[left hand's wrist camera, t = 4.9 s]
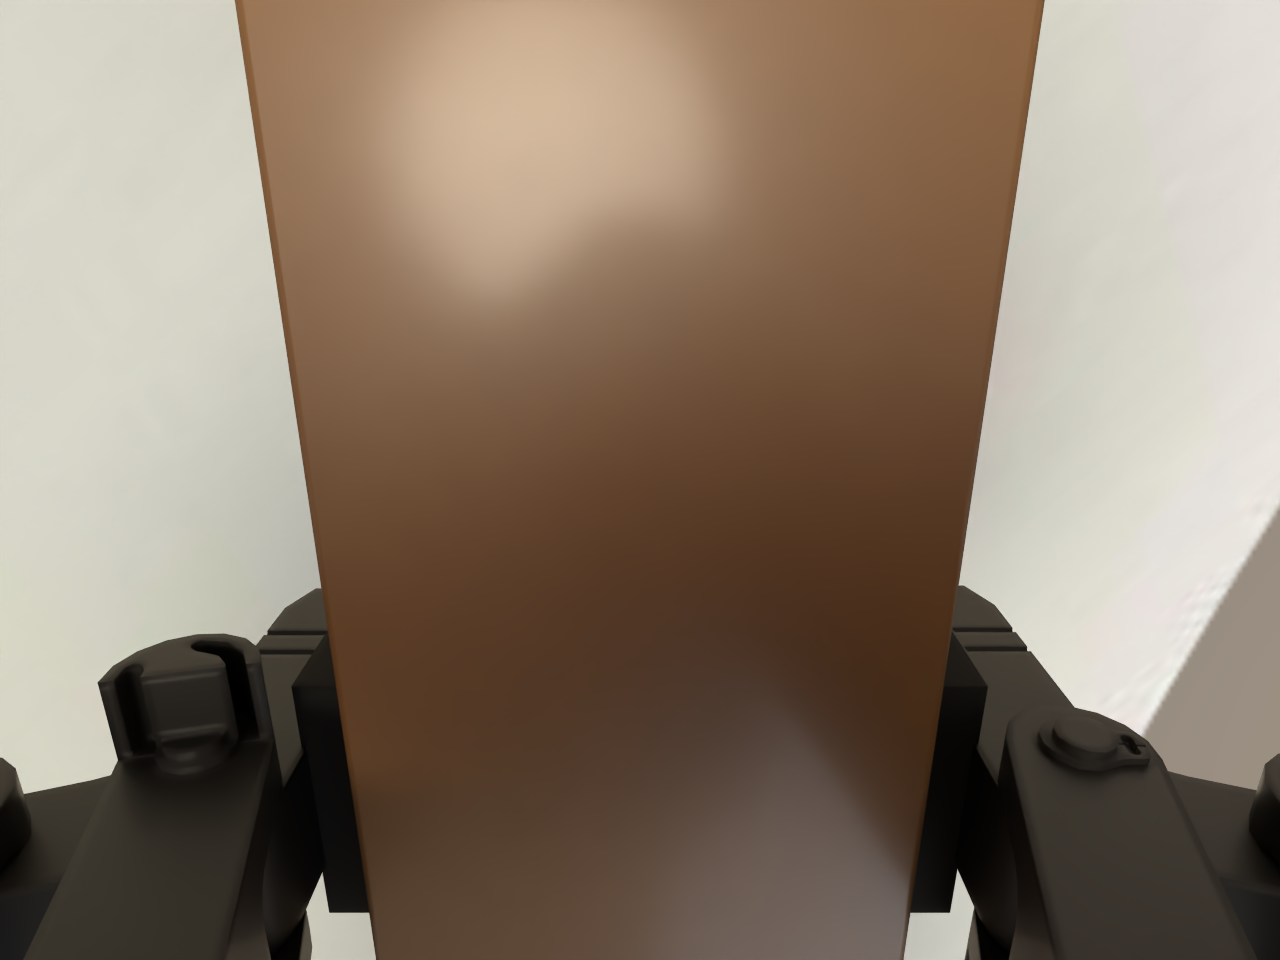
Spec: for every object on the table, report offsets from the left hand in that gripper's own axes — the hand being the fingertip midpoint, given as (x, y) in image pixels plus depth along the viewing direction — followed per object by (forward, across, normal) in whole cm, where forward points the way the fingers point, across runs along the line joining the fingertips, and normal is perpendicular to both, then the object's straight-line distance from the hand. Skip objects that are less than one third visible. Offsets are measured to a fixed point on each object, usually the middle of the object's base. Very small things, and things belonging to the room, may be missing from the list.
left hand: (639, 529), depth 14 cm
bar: (+1, 0, -12) cm, 12 cm away
